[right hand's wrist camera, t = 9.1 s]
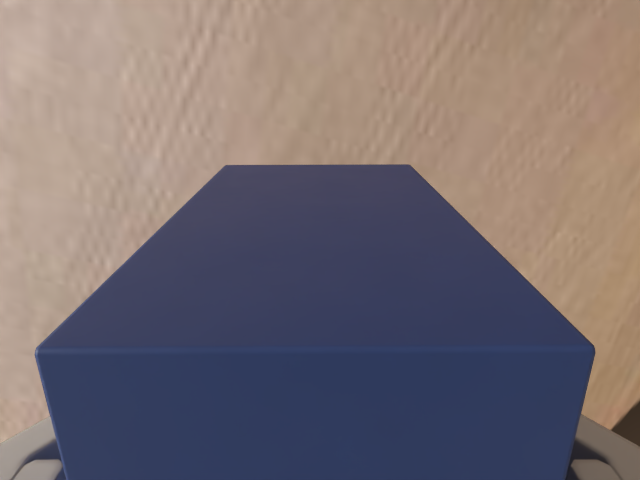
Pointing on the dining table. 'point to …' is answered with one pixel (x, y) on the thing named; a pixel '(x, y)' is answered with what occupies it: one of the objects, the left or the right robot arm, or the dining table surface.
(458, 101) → the dining table surface
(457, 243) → the bar
